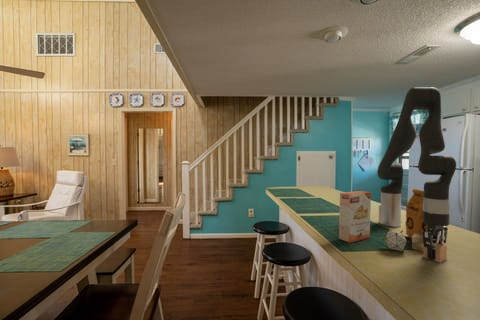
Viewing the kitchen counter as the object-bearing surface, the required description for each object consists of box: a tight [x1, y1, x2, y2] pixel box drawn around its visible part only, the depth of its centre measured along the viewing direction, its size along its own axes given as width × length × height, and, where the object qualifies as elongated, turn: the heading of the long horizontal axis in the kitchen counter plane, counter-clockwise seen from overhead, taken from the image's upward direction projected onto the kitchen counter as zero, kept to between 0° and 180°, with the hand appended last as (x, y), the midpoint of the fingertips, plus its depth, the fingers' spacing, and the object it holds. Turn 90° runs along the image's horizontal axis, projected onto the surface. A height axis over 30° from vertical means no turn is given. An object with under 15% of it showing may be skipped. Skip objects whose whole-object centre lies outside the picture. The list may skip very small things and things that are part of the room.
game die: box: [382, 228, 410, 254], centre depth 93 cm, size 9×8×10 cm
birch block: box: [411, 234, 424, 252], centre depth 95 cm, size 5×5×5 cm
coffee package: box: [404, 188, 434, 240], centre depth 104 cm, size 10×12×22 cm
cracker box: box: [338, 190, 372, 244], centre depth 106 cm, size 14×6×21 cm, turn 118°
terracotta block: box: [423, 243, 448, 263], centre depth 86 cm, size 5×5×5 cm
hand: (434, 256), depth 86 cm, fingers closed on terracotta block, 5 cm apart
